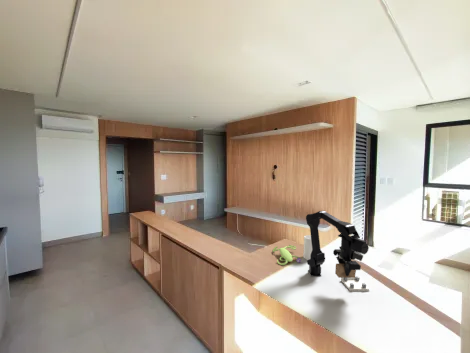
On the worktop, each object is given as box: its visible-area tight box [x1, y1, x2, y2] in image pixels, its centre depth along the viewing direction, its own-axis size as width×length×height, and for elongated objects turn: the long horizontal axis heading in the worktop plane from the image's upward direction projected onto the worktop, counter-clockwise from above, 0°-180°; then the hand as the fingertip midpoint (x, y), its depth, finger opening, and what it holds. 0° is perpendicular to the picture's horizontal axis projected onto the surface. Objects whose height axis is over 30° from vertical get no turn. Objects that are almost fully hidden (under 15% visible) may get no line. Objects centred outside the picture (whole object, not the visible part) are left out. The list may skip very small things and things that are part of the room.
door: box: [335, 263, 357, 279], centre depth 120 cm, size 10×4×6 cm, turn 90°
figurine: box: [272, 244, 302, 266], centre depth 164 cm, size 18×27×6 cm
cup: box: [302, 234, 312, 261], centre depth 162 cm, size 8×8×16 cm
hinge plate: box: [340, 276, 370, 292], centre depth 128 cm, size 11×10×3 cm
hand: (345, 273), depth 120 cm, fingers closed on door, 4 cm apart
